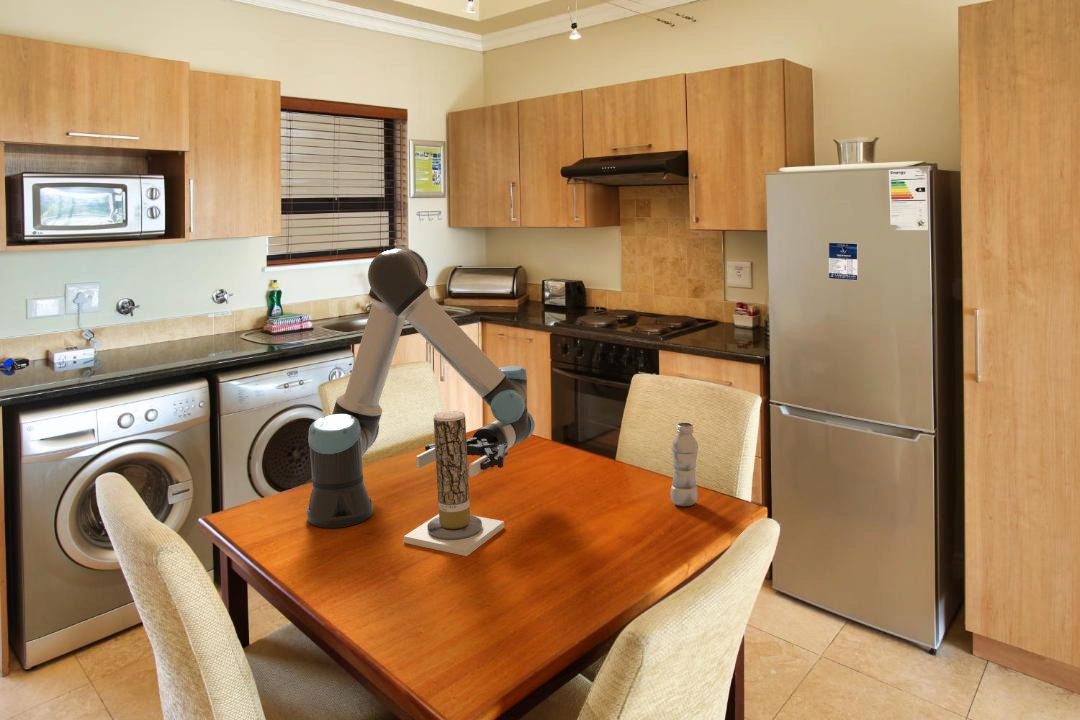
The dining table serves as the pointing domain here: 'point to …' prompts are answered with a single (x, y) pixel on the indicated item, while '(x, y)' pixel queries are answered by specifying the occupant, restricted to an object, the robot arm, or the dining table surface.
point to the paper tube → (452, 469)
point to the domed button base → (454, 535)
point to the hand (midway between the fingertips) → (443, 466)
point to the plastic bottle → (684, 466)
